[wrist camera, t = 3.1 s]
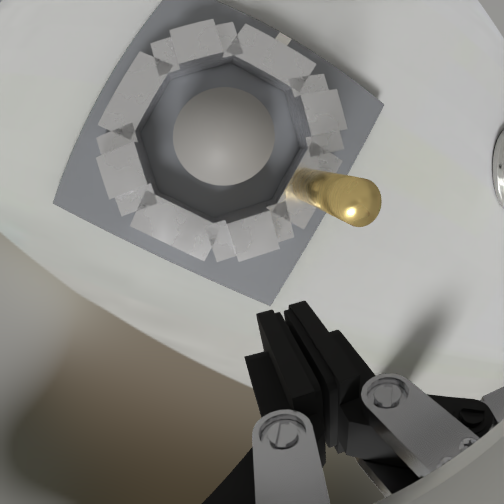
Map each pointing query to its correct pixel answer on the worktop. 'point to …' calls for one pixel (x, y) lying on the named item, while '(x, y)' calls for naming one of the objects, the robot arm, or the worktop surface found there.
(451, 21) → the worktop surface
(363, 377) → the robot arm
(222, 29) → the ring nut
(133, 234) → the base plate
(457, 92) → the worktop surface
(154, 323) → the worktop surface
